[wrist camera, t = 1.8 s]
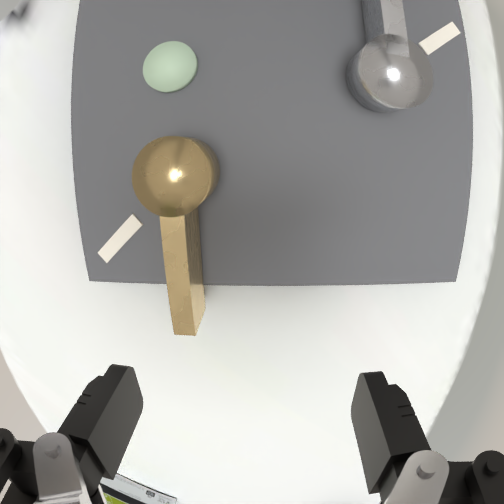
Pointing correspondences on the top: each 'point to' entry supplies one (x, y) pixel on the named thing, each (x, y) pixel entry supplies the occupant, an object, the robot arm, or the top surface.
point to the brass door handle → (178, 216)
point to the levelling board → (271, 141)
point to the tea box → (131, 492)
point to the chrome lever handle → (388, 62)
